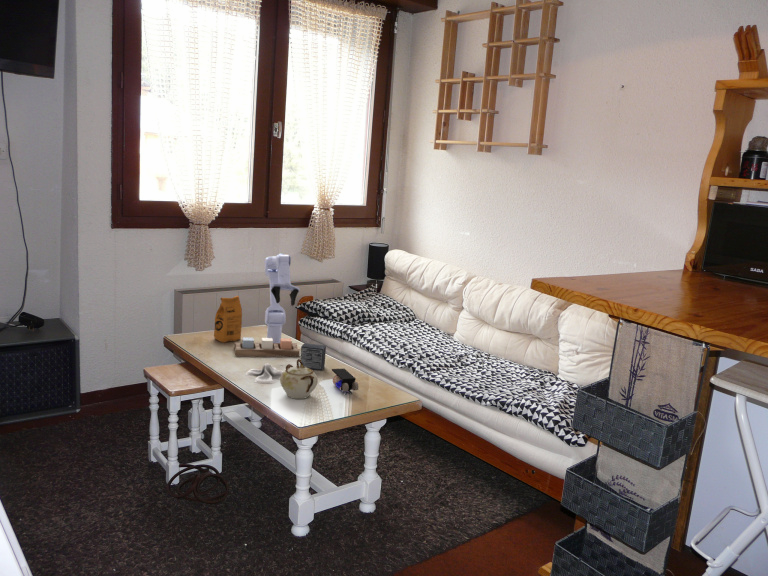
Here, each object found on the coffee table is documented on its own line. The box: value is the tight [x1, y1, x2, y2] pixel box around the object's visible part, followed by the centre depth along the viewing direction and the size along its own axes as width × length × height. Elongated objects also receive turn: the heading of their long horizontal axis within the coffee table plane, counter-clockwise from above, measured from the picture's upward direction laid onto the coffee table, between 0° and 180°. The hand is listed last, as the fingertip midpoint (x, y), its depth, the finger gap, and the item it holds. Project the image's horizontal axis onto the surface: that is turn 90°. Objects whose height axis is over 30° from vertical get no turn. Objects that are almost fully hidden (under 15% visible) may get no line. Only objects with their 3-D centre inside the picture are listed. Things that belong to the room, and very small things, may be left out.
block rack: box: [233, 341, 301, 358], centre depth 313 cm, size 12×30×3 cm, turn 105°
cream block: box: [260, 337, 273, 349], centre depth 313 cm, size 5×5×4 cm
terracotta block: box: [280, 337, 293, 349], centre depth 315 cm, size 5×5×4 cm
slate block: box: [242, 336, 255, 349], centre depth 310 cm, size 5×5×4 cm
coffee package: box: [213, 295, 243, 343], centre depth 327 cm, size 10×12×22 cm
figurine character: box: [331, 368, 359, 396], centre depth 272 cm, size 7×8×15 cm
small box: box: [299, 342, 327, 372], centre depth 297 cm, size 11×6×10 cm, turn 84°
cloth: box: [245, 362, 285, 384], centre depth 282 cm, size 22×19×6 cm
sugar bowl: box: [279, 358, 319, 400], centre depth 260 cm, size 20×15×15 cm
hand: (285, 303), depth 303 cm, fingers open, 7 cm apart
